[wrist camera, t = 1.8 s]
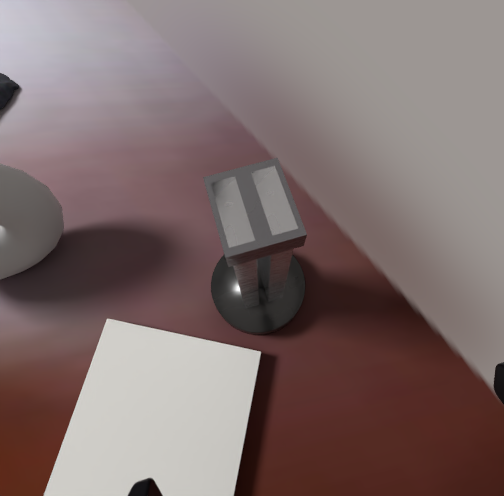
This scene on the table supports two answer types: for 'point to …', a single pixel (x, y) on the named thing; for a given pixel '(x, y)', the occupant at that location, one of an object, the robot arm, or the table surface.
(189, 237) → the table surface
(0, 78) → the folded grey shirt
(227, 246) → the grey channel block
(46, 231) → the donut
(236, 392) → the ceramic tile
